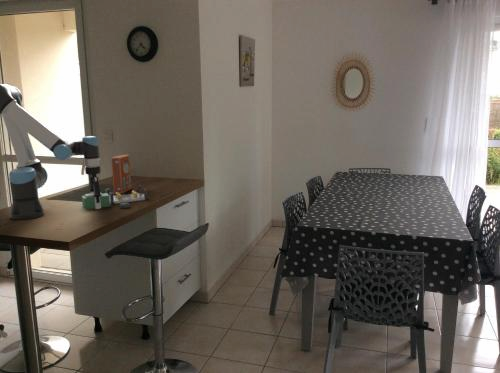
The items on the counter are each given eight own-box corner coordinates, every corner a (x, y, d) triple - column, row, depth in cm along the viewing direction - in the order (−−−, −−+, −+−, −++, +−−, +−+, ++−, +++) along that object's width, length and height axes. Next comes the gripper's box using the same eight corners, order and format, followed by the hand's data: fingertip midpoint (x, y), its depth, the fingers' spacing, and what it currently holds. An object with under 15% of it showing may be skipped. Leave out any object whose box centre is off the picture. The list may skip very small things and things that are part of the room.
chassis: (111, 204, 248) (110, 193, 246) (106, 199, 259) (105, 189, 258) (147, 199, 257) (147, 189, 256) (141, 195, 268) (140, 185, 267)
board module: (84, 209, 238) (83, 196, 236) (82, 206, 244) (81, 194, 243) (110, 206, 244) (109, 193, 242) (107, 203, 250) (106, 191, 248)
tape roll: (121, 209, 238) (120, 205, 237) (119, 207, 242) (118, 203, 242) (130, 208, 240) (130, 204, 239) (128, 206, 244) (128, 202, 244)
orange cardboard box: (133, 188, 287) (122, 193, 272) (123, 188, 288) (111, 193, 274) (131, 154, 282) (119, 158, 268) (120, 154, 284) (108, 158, 269)
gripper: (104, 168, 230) (107, 210, 235) (95, 162, 252) (99, 200, 256) (88, 170, 227) (92, 212, 231) (81, 163, 248) (85, 202, 253)
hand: (96, 206), depth 244 cm, fingers open, 12 cm apart
